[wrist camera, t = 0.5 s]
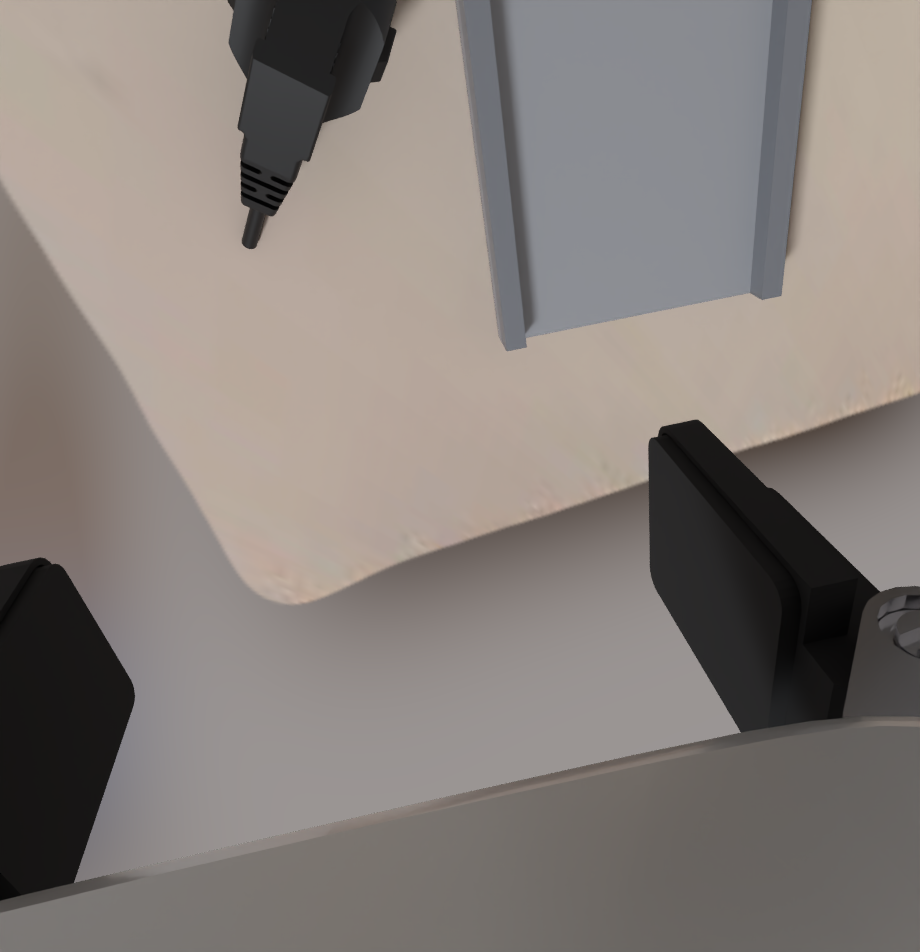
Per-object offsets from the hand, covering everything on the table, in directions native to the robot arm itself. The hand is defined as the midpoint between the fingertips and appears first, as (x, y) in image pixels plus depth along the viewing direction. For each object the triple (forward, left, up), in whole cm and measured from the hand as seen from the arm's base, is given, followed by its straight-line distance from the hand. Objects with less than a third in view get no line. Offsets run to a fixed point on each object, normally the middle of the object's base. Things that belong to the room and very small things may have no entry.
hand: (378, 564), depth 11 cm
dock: (-3, +13, -24) cm, 28 cm away
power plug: (-6, -1, -25) cm, 25 cm away
